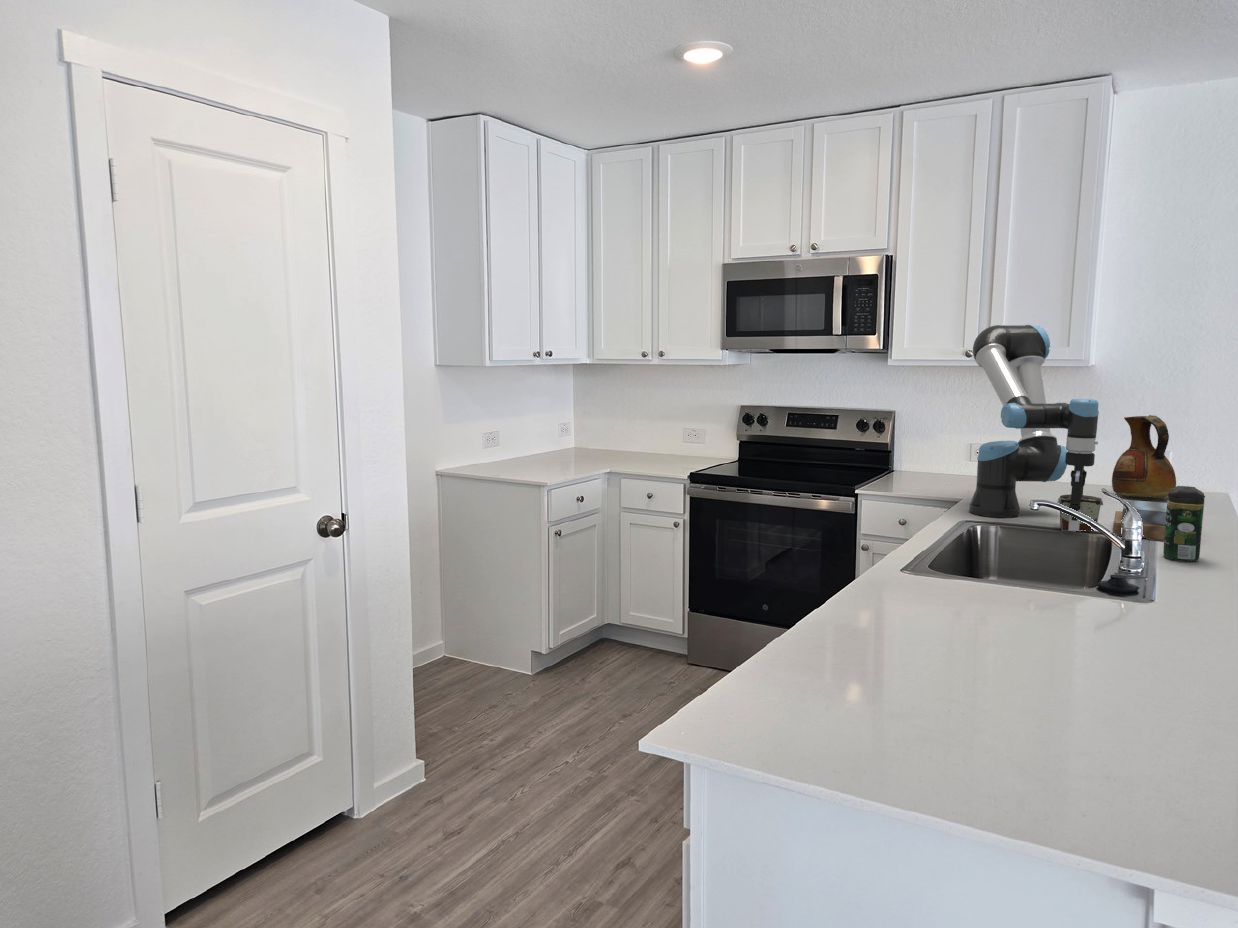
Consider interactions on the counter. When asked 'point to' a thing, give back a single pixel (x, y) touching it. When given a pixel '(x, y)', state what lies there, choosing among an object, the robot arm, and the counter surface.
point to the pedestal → (1145, 518)
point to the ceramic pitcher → (1144, 461)
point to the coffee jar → (1183, 523)
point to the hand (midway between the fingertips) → (1074, 528)
